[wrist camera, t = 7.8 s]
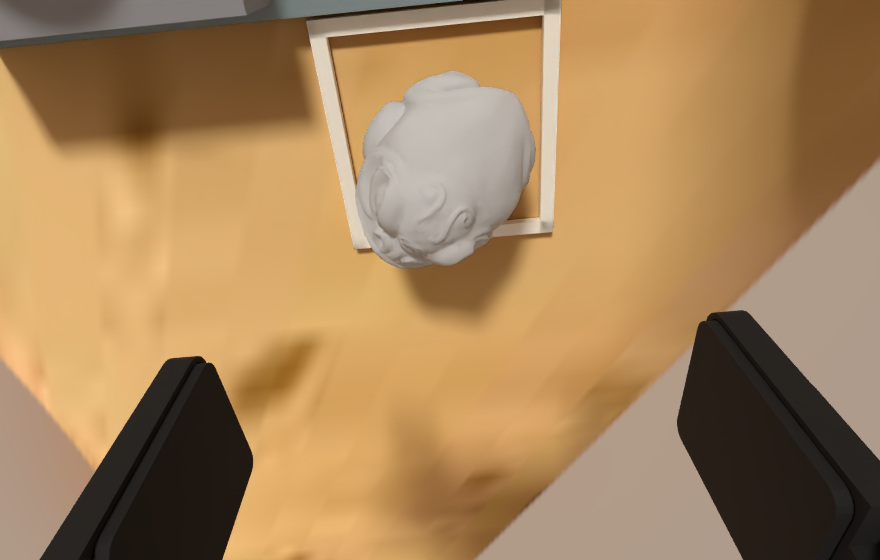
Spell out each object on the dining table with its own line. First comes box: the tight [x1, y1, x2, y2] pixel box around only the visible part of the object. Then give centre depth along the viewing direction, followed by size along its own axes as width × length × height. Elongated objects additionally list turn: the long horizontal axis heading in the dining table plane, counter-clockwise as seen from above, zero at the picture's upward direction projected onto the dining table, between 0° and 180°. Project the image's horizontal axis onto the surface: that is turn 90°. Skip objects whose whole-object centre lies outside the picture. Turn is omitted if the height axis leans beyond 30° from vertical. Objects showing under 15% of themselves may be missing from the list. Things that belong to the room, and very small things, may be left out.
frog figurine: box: [355, 71, 536, 269], centre depth 19 cm, size 6×7×7 cm
